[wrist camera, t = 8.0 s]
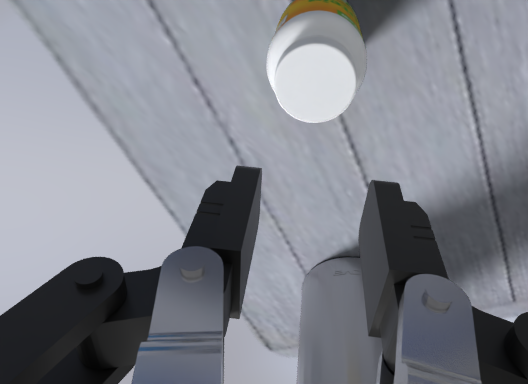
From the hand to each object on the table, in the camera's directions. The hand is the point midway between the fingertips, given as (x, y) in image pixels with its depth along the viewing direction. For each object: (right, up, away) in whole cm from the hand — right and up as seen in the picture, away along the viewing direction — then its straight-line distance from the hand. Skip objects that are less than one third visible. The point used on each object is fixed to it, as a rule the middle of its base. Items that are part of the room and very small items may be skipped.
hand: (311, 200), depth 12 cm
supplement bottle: (+2, +11, +16) cm, 19 cm away
